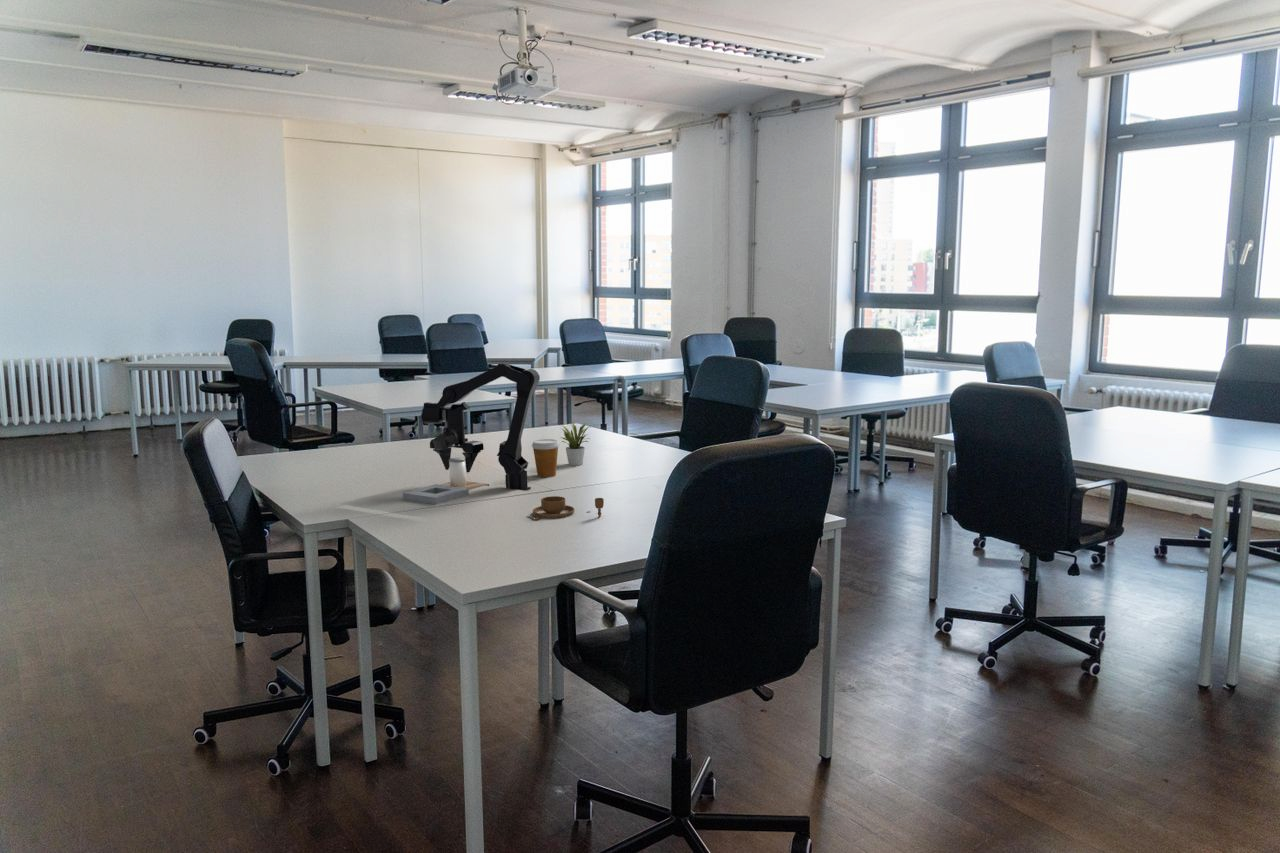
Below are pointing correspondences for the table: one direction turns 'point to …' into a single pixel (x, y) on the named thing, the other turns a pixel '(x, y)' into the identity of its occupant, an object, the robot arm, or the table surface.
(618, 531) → the table surface
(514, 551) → the table surface
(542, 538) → the table surface
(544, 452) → the disposable coffee cup
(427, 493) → the frame
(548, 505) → the place setting
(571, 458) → the house plant
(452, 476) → the cylinder
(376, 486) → the table surface
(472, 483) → the walnut board
